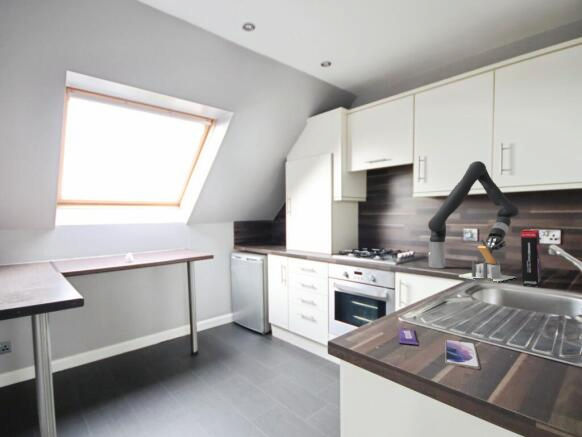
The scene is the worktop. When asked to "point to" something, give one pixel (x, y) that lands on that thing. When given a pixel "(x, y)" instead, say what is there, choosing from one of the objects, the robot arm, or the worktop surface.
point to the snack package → (407, 336)
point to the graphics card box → (530, 257)
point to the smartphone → (461, 354)
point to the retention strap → (487, 255)
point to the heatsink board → (486, 272)
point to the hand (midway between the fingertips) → (487, 253)
